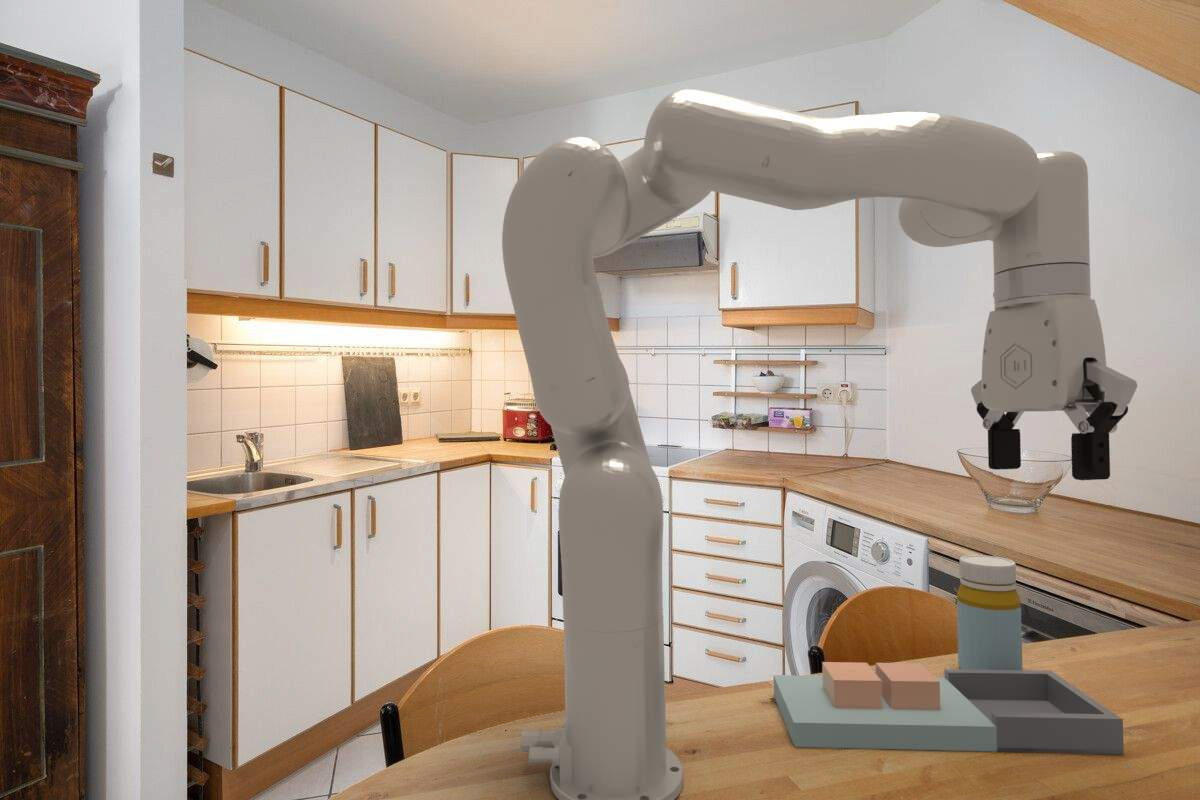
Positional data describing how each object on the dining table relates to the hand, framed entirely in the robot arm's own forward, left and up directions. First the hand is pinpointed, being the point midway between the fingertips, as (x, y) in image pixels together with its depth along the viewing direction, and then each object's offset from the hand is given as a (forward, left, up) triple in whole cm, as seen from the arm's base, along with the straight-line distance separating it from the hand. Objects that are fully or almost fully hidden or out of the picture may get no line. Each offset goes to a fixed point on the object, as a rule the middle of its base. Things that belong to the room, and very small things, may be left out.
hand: (1044, 473), depth 62 cm
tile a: (-15, +11, -26) cm, 32 cm away
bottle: (+5, +23, -29) cm, 37 cm away
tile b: (-9, +11, -26) cm, 30 cm away
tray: (+3, +11, -29) cm, 31 cm away
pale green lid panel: (-13, +11, -29) cm, 33 cm away
